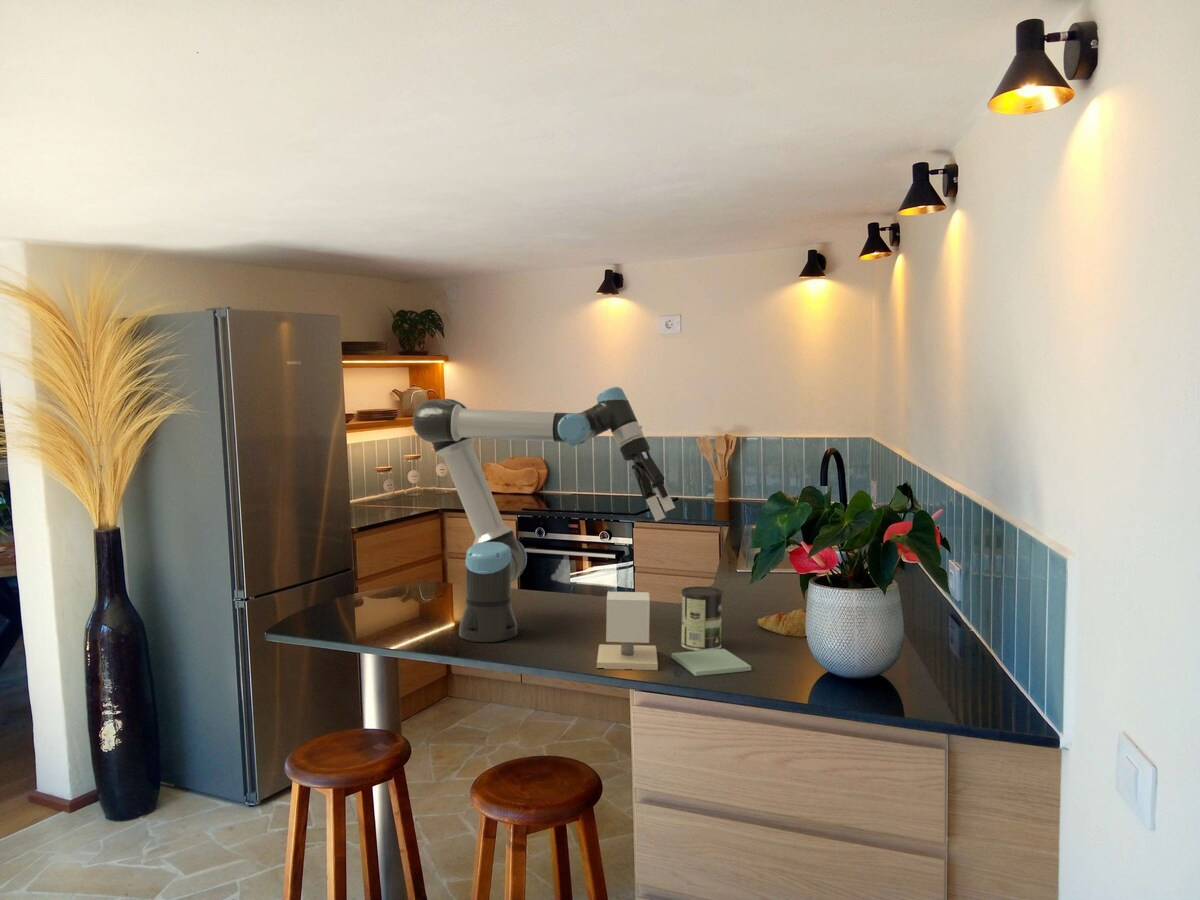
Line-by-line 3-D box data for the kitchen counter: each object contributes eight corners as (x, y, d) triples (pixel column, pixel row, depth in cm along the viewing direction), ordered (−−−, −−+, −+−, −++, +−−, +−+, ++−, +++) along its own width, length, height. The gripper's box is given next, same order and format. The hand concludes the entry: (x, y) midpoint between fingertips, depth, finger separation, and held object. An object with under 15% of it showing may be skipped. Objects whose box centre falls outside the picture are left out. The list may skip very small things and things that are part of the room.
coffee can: (718, 639, 215) (719, 586, 214) (723, 652, 205) (725, 595, 204) (678, 639, 215) (679, 585, 214) (682, 651, 205) (683, 595, 204)
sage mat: (695, 676, 187) (695, 671, 187) (671, 657, 200) (671, 653, 200) (751, 670, 191) (751, 666, 191) (724, 652, 204) (724, 648, 204)
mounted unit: (596, 668, 191) (597, 602, 190) (599, 650, 205) (599, 588, 204) (657, 670, 190) (658, 603, 189) (655, 651, 204) (656, 589, 203)
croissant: (754, 643, 225) (751, 620, 221) (762, 618, 233) (759, 596, 229) (835, 652, 216) (833, 629, 213) (840, 625, 224) (838, 603, 220)
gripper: (652, 423, 209) (687, 499, 205) (637, 449, 233) (669, 517, 229) (625, 434, 208) (660, 511, 203) (613, 459, 232) (644, 528, 227)
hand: (665, 514), depth 216 cm, fingers open, 13 cm apart
